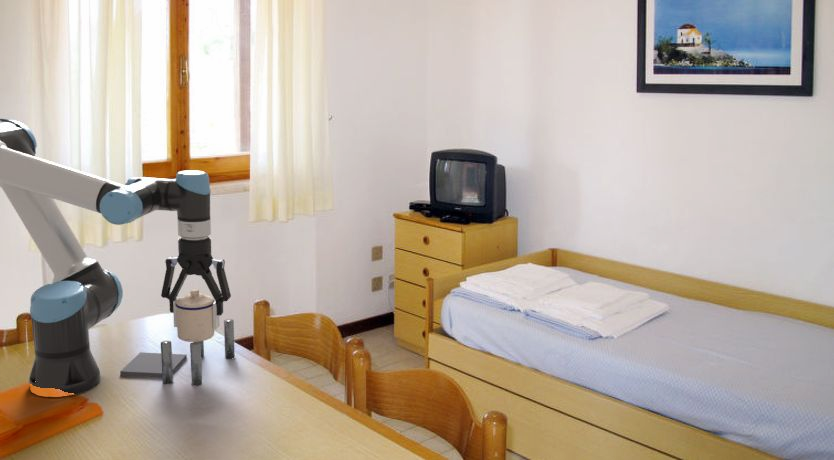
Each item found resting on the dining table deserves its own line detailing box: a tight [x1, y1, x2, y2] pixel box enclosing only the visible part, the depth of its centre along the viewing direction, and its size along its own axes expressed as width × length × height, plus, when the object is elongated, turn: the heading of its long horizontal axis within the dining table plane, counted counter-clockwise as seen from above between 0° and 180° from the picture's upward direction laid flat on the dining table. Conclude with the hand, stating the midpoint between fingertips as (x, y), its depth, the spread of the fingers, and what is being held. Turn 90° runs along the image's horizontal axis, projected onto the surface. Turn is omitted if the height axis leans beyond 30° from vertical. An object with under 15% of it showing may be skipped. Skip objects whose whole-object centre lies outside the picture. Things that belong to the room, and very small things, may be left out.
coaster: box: [119, 351, 188, 379], centre depth 194 cm, size 12×12×1 cm
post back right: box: [223, 318, 236, 360], centre depth 200 cm, size 2×2×10 cm
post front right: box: [189, 342, 203, 387], centre depth 185 cm, size 2×2×10 cm
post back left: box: [200, 341, 205, 358], centre depth 201 cm, size 2×2×10 cm
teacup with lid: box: [175, 288, 215, 343], centre depth 190 cm, size 12×9×12 cm
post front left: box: [160, 340, 174, 385], centre depth 185 cm, size 2×2×10 cm
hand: (196, 326), depth 191 cm, fingers closed on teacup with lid, 9 cm apart
